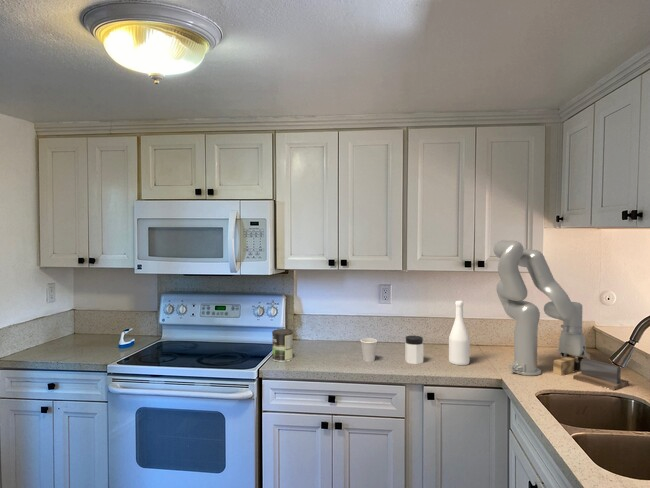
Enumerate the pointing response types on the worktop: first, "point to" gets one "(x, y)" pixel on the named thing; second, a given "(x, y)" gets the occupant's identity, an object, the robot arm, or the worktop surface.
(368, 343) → the dixie cup
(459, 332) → the wine bottle
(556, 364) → the oak beam
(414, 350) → the jar
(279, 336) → the coffee can
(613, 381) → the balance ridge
